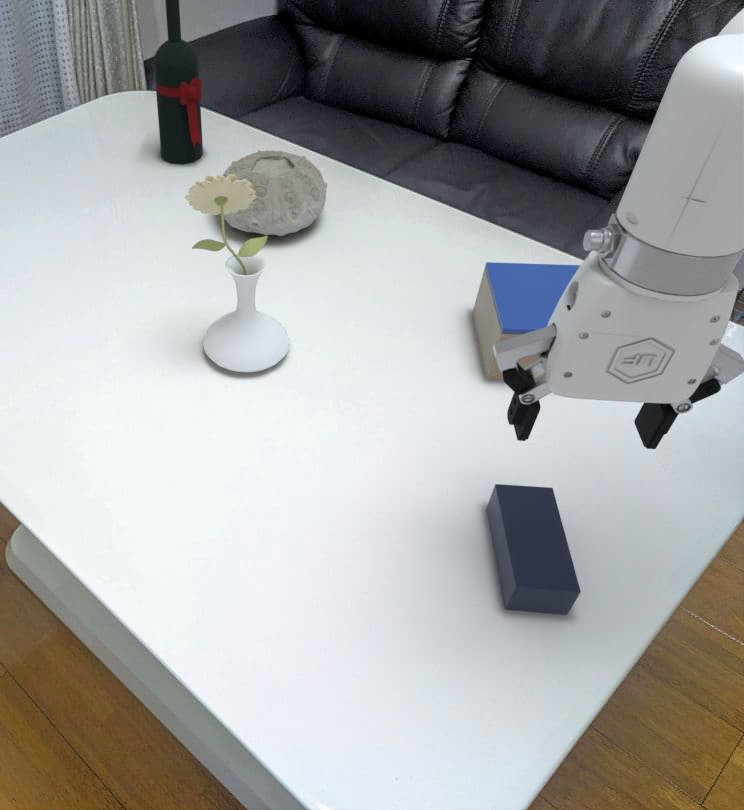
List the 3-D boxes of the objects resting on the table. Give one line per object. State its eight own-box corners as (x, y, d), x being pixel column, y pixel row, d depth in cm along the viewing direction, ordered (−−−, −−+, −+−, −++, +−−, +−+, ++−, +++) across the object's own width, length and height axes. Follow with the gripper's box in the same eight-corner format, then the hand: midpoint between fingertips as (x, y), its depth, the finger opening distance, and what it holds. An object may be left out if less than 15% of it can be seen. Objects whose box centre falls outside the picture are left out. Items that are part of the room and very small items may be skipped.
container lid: (582, 270, 94) (584, 265, 94) (611, 338, 85) (613, 332, 84) (484, 267, 96) (486, 261, 95) (501, 333, 86) (503, 327, 86)
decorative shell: (292, 262, 112) (295, 203, 105) (194, 232, 119) (191, 174, 112) (342, 209, 122) (348, 152, 115) (250, 184, 130) (250, 129, 123)
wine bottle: (180, 175, 133) (168, -8, 112) (153, 154, 139) (137, -23, 118) (217, 163, 136) (212, -18, 114) (189, 143, 142) (179, -32, 121)
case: (485, 509, 78) (495, 483, 75) (540, 513, 77) (552, 487, 74) (504, 611, 70) (516, 586, 66) (565, 616, 69) (581, 592, 66)
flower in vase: (298, 333, 100) (309, 160, 82) (275, 388, 92) (282, 210, 75) (208, 316, 103) (200, 146, 86) (179, 367, 96) (164, 193, 78)
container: (559, 318, 100) (577, 270, 94) (583, 386, 90) (605, 338, 85) (471, 314, 101) (484, 267, 96) (486, 382, 92) (501, 333, 86)
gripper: (540, 277, 45) (476, 459, 57) (843, 290, 44) (711, 475, 56) (518, 215, 51) (463, 393, 63) (787, 224, 49) (678, 406, 61)
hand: (580, 432), depth 59 cm, fingers open, 9 cm apart
